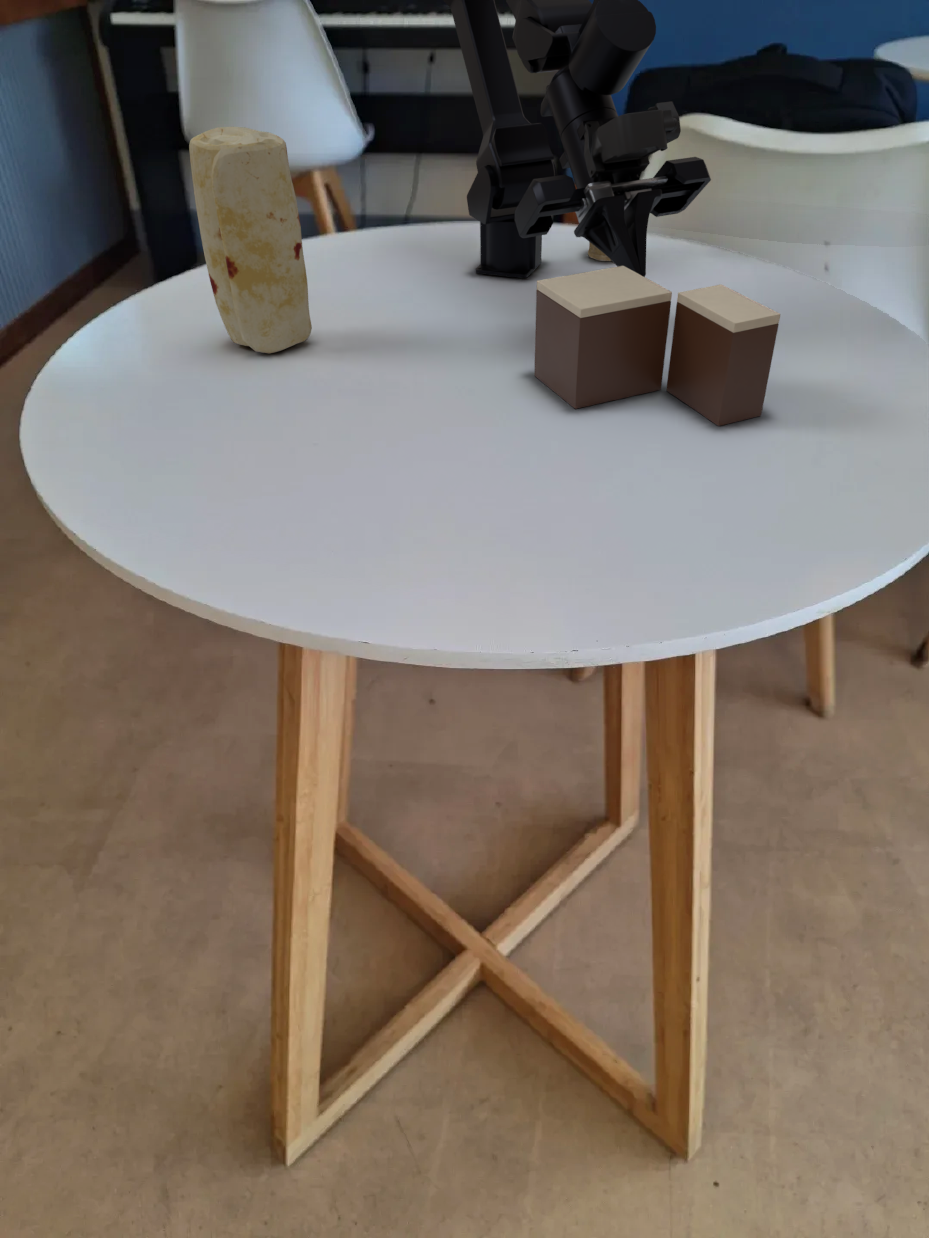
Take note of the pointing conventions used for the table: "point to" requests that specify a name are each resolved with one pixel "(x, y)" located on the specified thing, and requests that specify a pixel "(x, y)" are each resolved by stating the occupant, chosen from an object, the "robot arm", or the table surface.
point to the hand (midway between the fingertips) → (639, 279)
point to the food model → (251, 236)
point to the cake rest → (601, 335)
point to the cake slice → (721, 353)
